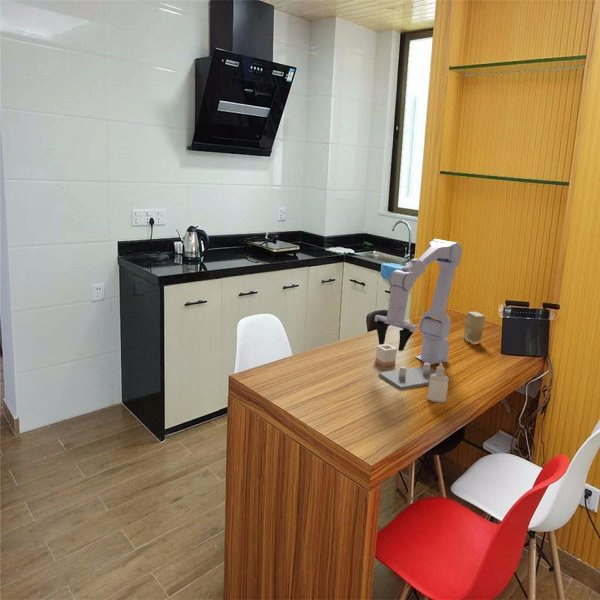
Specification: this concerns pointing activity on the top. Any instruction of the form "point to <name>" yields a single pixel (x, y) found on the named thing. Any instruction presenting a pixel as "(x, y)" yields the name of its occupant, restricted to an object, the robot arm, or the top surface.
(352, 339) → the top surface
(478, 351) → the top surface
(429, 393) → the eye dropper bottle
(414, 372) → the pin board
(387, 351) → the sleeve
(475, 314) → the skincare box
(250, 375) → the top surface
